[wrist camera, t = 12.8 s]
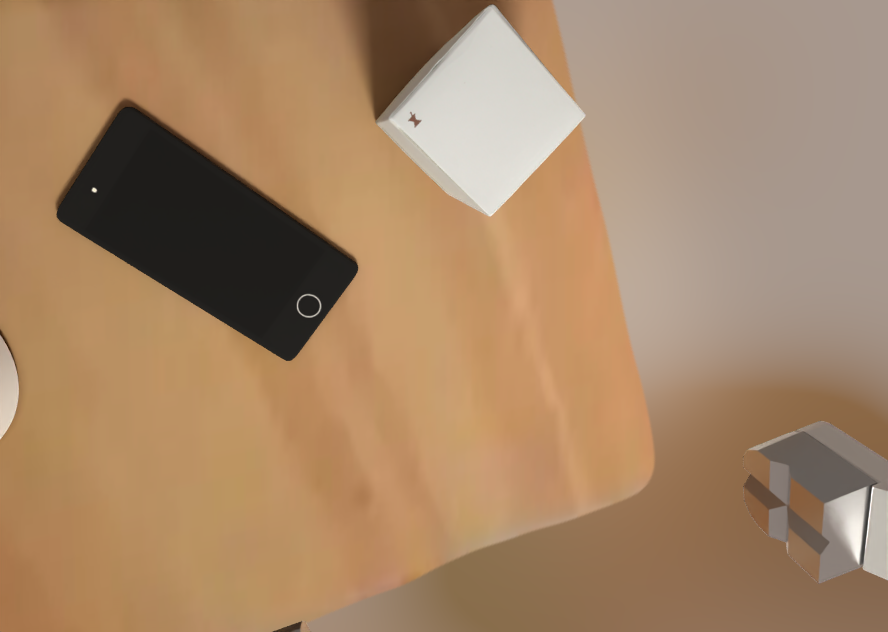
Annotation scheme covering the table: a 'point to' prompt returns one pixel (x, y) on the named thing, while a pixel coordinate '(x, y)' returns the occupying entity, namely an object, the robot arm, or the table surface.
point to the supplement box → (481, 114)
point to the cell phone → (205, 235)
